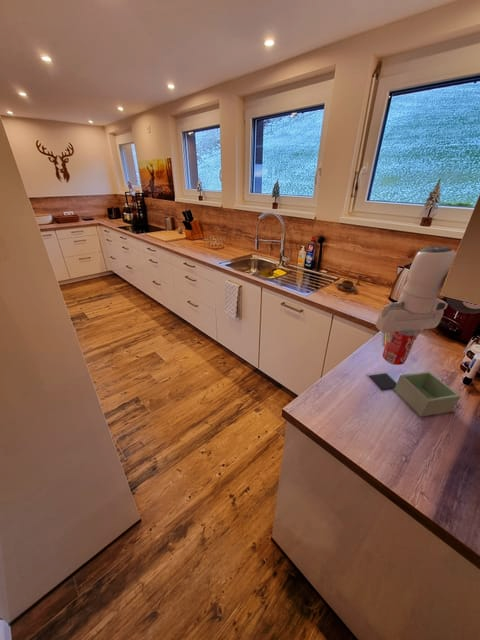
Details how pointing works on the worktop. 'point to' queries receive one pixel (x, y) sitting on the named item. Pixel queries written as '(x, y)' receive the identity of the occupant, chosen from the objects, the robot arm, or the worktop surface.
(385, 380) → the coaster
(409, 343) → the soda can
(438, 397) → the bin
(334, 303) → the worktop surface
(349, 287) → the place setting
